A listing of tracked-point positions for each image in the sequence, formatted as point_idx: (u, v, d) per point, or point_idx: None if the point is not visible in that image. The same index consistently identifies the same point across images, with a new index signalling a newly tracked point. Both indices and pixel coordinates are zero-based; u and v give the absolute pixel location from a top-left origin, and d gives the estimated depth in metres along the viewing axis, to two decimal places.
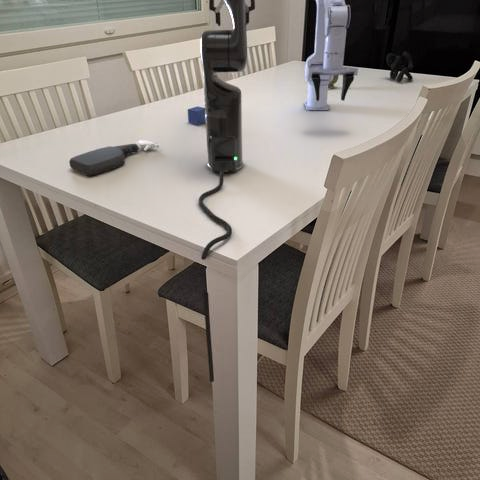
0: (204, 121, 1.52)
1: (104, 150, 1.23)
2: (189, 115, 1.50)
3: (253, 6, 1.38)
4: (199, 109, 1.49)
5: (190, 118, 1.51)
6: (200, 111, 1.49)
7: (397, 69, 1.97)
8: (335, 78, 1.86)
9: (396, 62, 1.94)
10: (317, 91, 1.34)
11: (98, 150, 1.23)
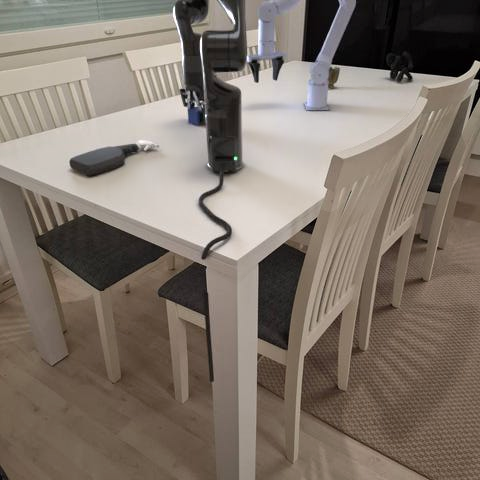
0: None
1: (104, 150, 1.23)
2: (189, 115, 1.50)
3: None
4: None
5: (190, 118, 1.51)
6: None
7: (397, 69, 1.97)
8: (335, 78, 1.86)
9: (396, 62, 1.94)
10: (257, 74, 1.58)
11: (98, 150, 1.23)
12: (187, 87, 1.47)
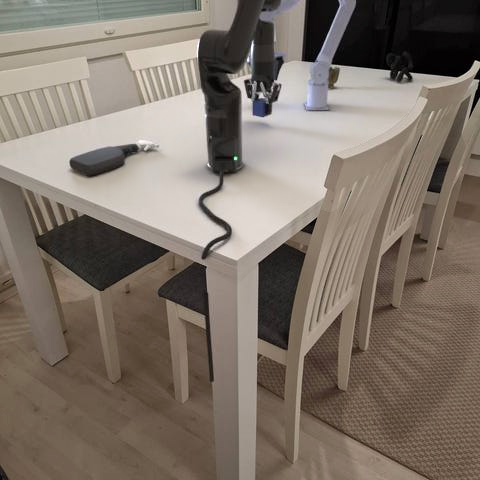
0: None
1: (104, 150, 1.23)
2: (254, 107, 1.46)
3: None
4: None
5: (255, 110, 1.46)
6: None
7: (397, 69, 1.97)
8: (335, 78, 1.86)
9: (396, 62, 1.94)
10: None
11: (98, 150, 1.23)
12: (253, 78, 1.43)
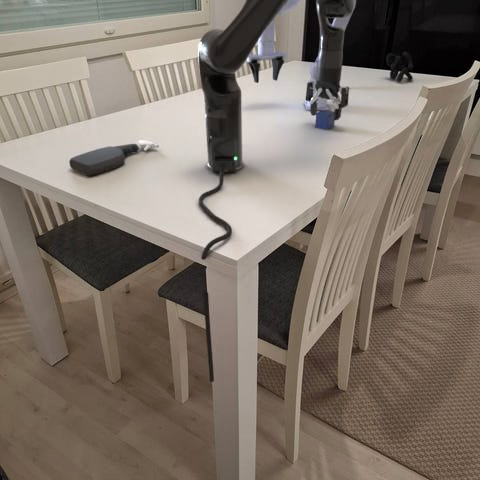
0: (332, 125, 1.46)
1: (104, 150, 1.23)
2: (317, 119, 1.44)
3: None
4: (329, 113, 1.44)
5: (318, 122, 1.45)
6: (330, 115, 1.43)
7: (397, 69, 1.97)
8: None
9: (396, 62, 1.94)
10: (257, 74, 1.58)
11: (98, 150, 1.23)
12: (318, 85, 1.41)
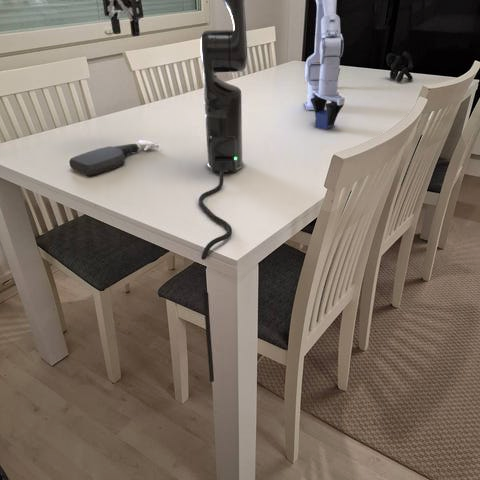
0: (332, 125, 1.46)
1: (104, 150, 1.23)
2: (317, 119, 1.45)
3: None
4: None
5: (318, 122, 1.45)
6: None
7: (397, 69, 1.97)
8: None
9: (396, 62, 1.94)
10: None
11: (98, 150, 1.23)
12: None
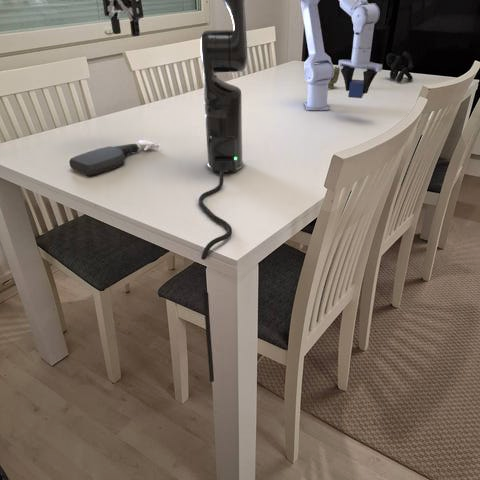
0: (363, 94, 1.48)
1: (104, 150, 1.23)
2: (351, 88, 1.45)
3: None
4: (361, 81, 1.45)
5: (352, 91, 1.46)
6: None
7: (397, 69, 1.97)
8: (335, 78, 1.86)
9: (396, 62, 1.94)
10: None
11: (98, 150, 1.23)
12: None
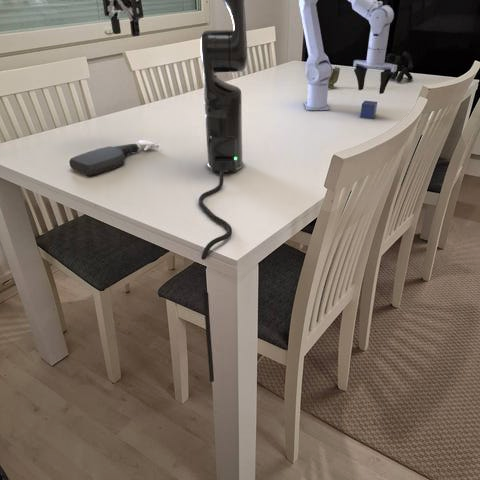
0: (375, 114, 1.55)
1: (104, 150, 1.23)
2: (363, 109, 1.53)
3: None
4: (373, 103, 1.52)
5: (364, 112, 1.53)
6: (375, 104, 1.52)
7: (397, 69, 1.97)
8: (335, 78, 1.86)
9: (396, 62, 1.94)
10: None
11: (98, 150, 1.23)
12: None
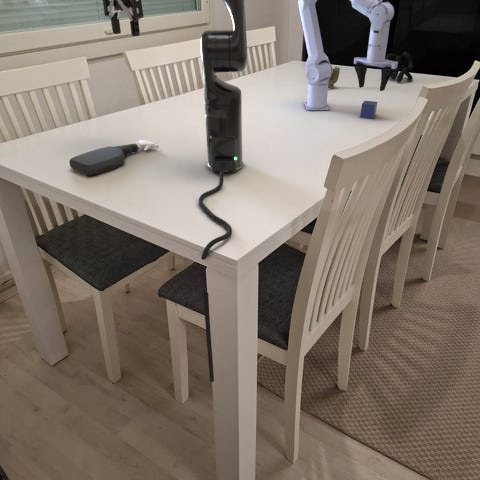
0: (375, 114, 1.55)
1: (104, 150, 1.23)
2: (363, 109, 1.53)
3: None
4: (373, 103, 1.52)
5: (364, 112, 1.53)
6: (375, 104, 1.52)
7: (397, 69, 1.97)
8: (335, 78, 1.86)
9: None
10: None
11: (98, 150, 1.23)
12: None
